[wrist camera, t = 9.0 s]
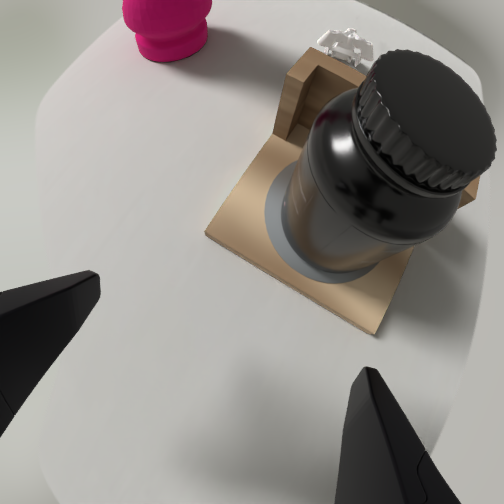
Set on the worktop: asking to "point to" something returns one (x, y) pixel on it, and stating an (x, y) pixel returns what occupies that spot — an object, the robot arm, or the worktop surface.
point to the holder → (271, 196)
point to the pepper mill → (167, 27)
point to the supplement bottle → (386, 164)
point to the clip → (346, 45)
